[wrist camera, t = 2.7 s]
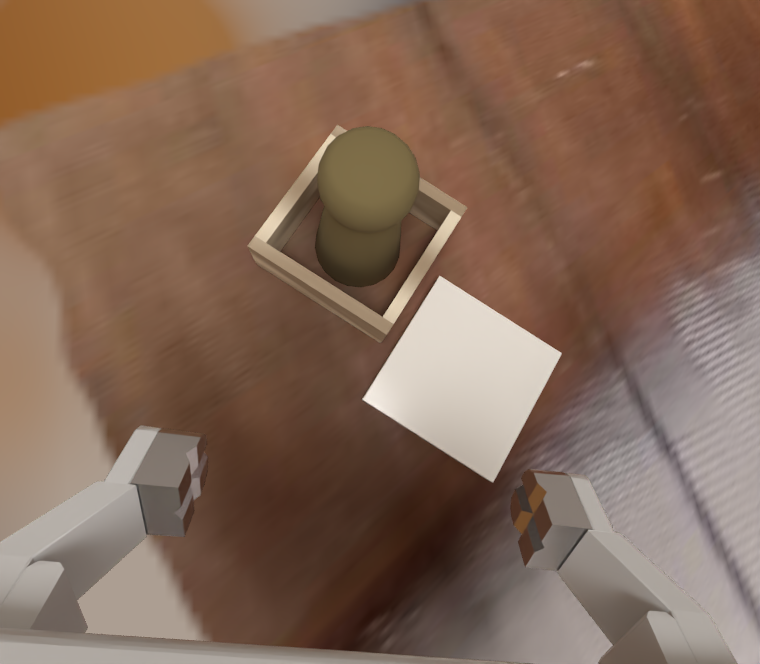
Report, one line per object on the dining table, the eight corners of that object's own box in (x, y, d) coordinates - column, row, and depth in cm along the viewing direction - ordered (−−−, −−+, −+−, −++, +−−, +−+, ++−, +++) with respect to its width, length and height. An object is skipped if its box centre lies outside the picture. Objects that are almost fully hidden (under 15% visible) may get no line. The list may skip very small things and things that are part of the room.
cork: (312, 207, 32) (303, 104, 21) (396, 205, 33) (428, 104, 22) (317, 289, 31) (309, 224, 20) (403, 285, 32) (440, 221, 21)
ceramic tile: (436, 279, 32) (439, 275, 31) (554, 355, 32) (561, 353, 31) (361, 400, 30) (362, 399, 29) (487, 480, 30) (493, 482, 29)
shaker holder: (336, 154, 33) (337, 124, 30) (453, 228, 33) (467, 207, 30) (256, 264, 31) (247, 246, 28) (380, 343, 31) (386, 334, 28)
